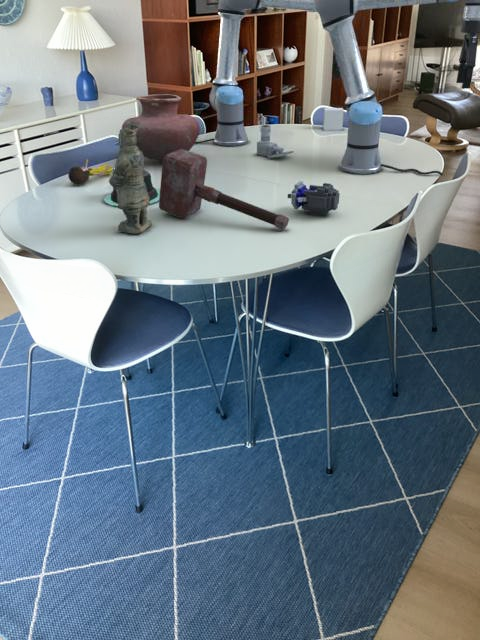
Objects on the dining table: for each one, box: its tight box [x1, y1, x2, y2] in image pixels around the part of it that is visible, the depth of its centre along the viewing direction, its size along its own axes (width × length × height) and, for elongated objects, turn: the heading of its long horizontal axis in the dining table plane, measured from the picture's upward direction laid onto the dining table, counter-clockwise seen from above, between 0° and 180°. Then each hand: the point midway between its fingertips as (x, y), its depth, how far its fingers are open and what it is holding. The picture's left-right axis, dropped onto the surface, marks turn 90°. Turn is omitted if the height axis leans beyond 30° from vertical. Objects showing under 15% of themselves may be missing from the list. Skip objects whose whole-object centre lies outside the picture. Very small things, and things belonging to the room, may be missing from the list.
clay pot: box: [121, 93, 201, 163], centre depth 222 cm, size 30×30×25 cm
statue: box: [108, 121, 153, 235], centre depth 154 cm, size 11×9×30 cm
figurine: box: [67, 158, 115, 186], centre depth 207 cm, size 13×8×25 cm
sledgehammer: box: [158, 149, 290, 231], centre depth 163 cm, size 17×10×40 cm
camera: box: [256, 124, 295, 159], centre depth 227 cm, size 9×12×15 cm
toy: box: [287, 180, 341, 216], centre depth 168 cm, size 9×9×15 cm
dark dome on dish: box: [103, 168, 160, 207], centre depth 186 cm, size 15×19×20 cm
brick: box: [322, 107, 344, 131], centre depth 273 cm, size 9×6×9 cm
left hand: (335, 76), depth 263 cm, fingers open, 13 cm apart
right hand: (462, 85), depth 203 cm, fingers open, 13 cm apart
